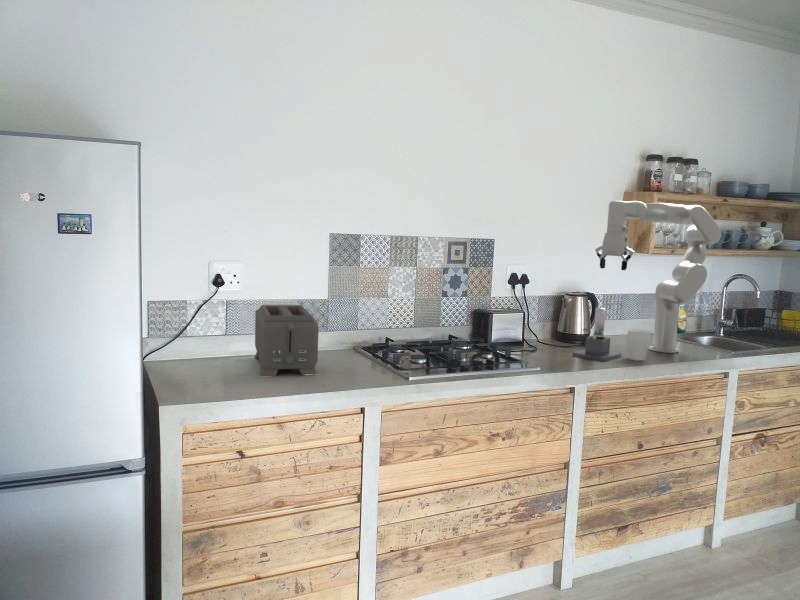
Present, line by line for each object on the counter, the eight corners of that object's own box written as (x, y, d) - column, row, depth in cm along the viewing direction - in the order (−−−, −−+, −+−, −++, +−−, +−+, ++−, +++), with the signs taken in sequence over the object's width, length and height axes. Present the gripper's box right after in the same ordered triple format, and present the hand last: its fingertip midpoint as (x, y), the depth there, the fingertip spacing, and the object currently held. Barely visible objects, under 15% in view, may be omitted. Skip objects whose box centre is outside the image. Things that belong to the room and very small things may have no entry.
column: (595, 337, 277) (598, 307, 276) (605, 339, 274) (608, 308, 273) (591, 338, 274) (593, 308, 273) (600, 340, 271) (603, 309, 270)
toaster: (260, 379, 214) (261, 318, 212) (254, 357, 248) (255, 304, 245) (319, 378, 220) (320, 318, 217) (305, 356, 253) (306, 304, 250)
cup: (649, 361, 268) (652, 333, 267) (626, 360, 270) (629, 331, 268) (645, 357, 277) (648, 329, 275) (623, 355, 279) (626, 328, 277)
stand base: (590, 351, 286) (592, 331, 285) (621, 356, 276) (622, 335, 275) (572, 355, 274) (574, 334, 273) (603, 361, 265) (605, 340, 264)
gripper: (639, 230, 278) (635, 270, 280) (601, 229, 290) (598, 267, 292) (631, 230, 273) (628, 271, 275) (593, 228, 285) (590, 267, 287)
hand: (612, 269), depth 284 cm, fingers open, 9 cm apart
